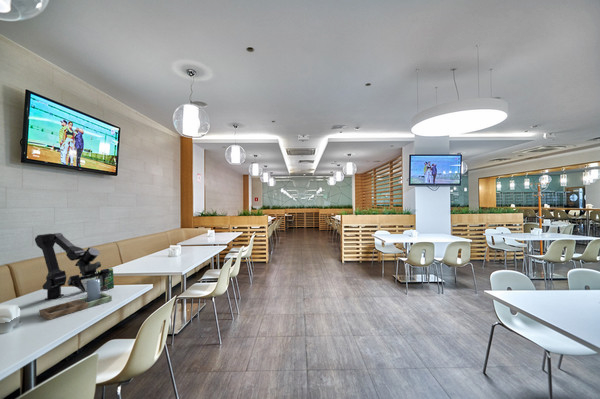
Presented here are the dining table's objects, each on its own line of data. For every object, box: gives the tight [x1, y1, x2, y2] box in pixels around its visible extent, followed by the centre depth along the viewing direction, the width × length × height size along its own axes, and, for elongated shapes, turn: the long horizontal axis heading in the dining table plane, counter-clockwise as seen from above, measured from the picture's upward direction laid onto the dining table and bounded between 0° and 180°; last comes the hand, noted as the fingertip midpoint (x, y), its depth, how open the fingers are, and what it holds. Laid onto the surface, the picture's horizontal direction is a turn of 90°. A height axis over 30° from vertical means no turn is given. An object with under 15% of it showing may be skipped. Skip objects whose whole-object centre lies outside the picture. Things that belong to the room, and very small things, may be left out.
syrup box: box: [81, 269, 98, 292], centre depth 169 cm, size 6×6×14 cm
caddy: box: [38, 292, 113, 321], centre depth 140 cm, size 27×12×2 cm, turn 149°
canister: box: [86, 278, 102, 303], centre depth 146 cm, size 6×6×12 cm
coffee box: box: [97, 267, 115, 292], centre depth 168 cm, size 8×3×13 cm, turn 146°
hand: (94, 288), depth 145 cm, fingers open, 9 cm apart
